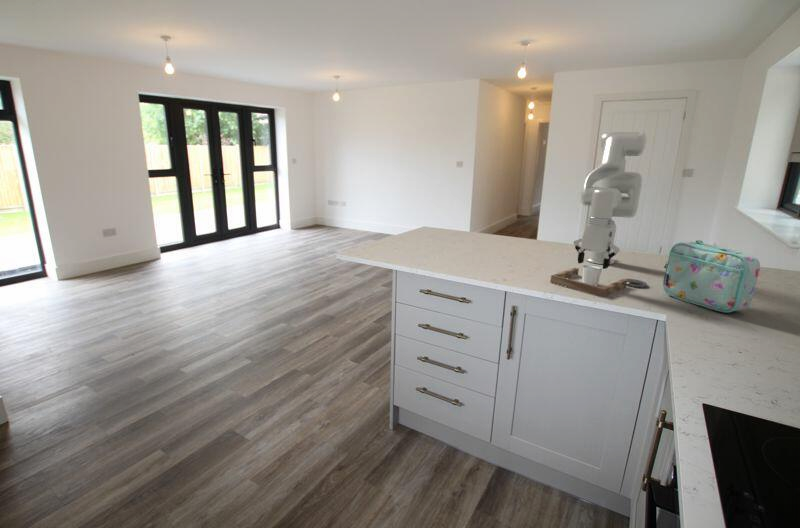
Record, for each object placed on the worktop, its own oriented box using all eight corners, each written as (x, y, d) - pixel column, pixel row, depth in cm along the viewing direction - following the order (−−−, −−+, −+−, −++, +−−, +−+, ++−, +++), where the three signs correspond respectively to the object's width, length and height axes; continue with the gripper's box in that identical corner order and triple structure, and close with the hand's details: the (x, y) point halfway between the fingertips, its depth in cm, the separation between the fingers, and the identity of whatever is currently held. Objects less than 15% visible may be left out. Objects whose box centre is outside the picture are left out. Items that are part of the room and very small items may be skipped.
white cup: (601, 287, 157) (604, 270, 156) (582, 286, 159) (585, 268, 157) (596, 282, 164) (599, 265, 162) (578, 280, 165) (581, 264, 163)
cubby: (574, 274, 174) (575, 267, 173) (625, 287, 159) (627, 279, 158) (550, 282, 162) (551, 275, 161) (603, 297, 146) (604, 289, 146)
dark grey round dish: (626, 279, 168) (626, 277, 168) (650, 285, 161) (650, 282, 161) (617, 283, 162) (617, 281, 162) (641, 289, 156) (641, 287, 156)
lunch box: (654, 292, 153) (665, 236, 147) (672, 289, 157) (684, 235, 151) (731, 319, 129) (748, 254, 124) (751, 314, 133) (768, 251, 127)
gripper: (627, 224, 150) (619, 269, 155) (582, 218, 163) (576, 259, 167) (618, 226, 146) (611, 272, 150) (572, 219, 158) (566, 262, 163)
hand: (592, 265), depth 159 cm, fingers open, 9 cm apart
